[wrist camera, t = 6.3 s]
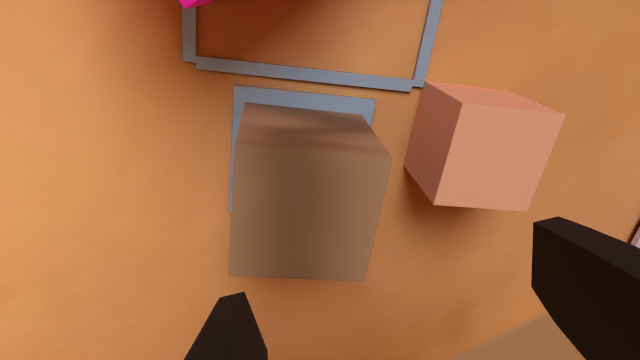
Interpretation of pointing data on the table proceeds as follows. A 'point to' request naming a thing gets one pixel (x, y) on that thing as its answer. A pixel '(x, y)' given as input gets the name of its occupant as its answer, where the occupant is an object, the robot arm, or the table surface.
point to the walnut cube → (305, 194)
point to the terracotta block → (480, 146)
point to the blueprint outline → (306, 78)
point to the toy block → (194, 3)
